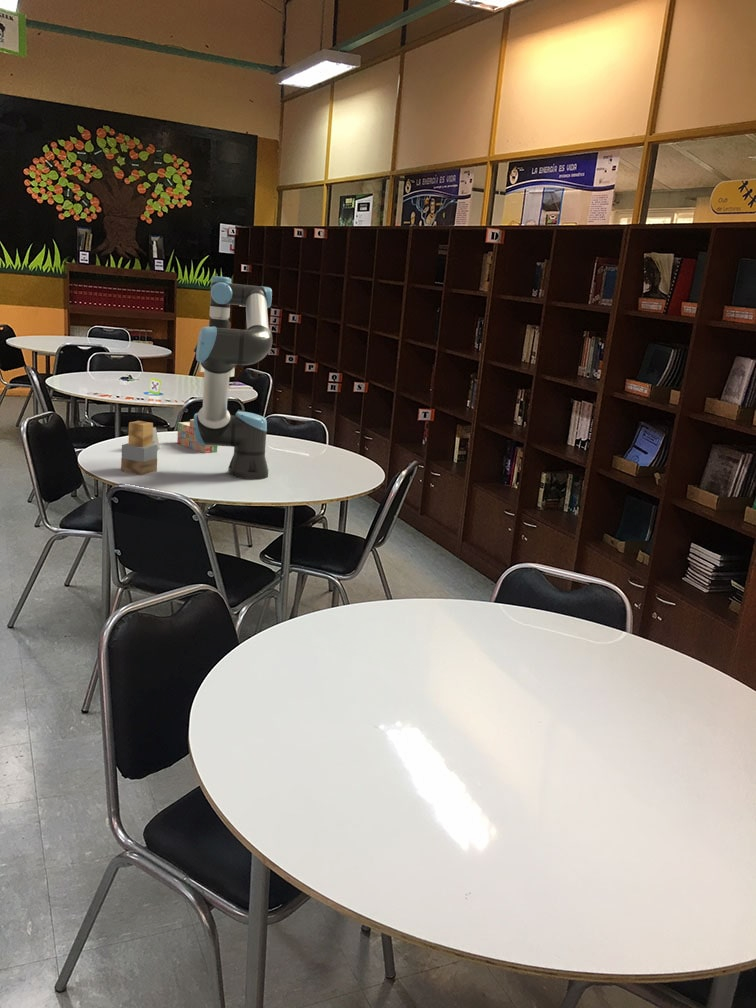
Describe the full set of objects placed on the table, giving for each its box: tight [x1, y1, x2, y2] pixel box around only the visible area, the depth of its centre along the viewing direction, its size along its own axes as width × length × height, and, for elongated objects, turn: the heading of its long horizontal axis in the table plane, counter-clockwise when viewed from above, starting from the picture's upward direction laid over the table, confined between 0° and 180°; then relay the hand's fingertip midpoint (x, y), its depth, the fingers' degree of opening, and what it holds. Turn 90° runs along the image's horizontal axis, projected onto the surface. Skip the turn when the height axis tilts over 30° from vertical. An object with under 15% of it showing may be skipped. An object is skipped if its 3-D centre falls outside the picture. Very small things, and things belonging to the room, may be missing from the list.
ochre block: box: [128, 420, 154, 447], centre depth 299 cm, size 6×6×8 cm
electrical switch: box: [152, 426, 161, 451], centre depth 337 cm, size 9×5×9 cm, turn 152°
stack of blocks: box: [176, 418, 218, 454], centre depth 350 cm, size 21×6×12 cm, turn 46°
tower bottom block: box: [120, 457, 158, 476], centre depth 302 cm, size 9×9×5 cm
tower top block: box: [121, 442, 158, 462], centre depth 300 cm, size 9×9×5 cm
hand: (216, 374), depth 320 cm, fingers open, 13 cm apart
